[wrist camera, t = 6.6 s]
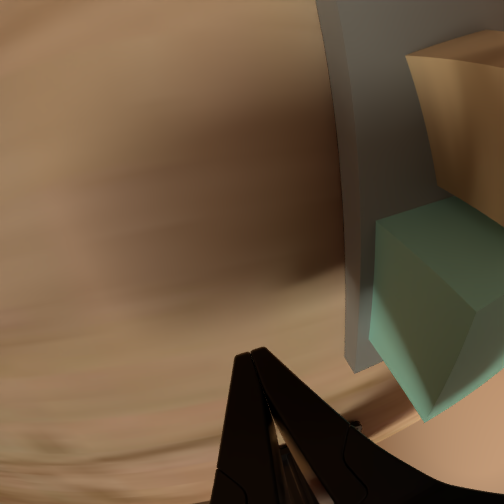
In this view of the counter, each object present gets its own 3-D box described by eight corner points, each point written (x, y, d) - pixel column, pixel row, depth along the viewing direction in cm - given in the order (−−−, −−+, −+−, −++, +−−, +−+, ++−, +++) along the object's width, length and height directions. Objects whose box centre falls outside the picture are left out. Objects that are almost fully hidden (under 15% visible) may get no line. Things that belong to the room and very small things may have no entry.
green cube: (463, 293, 12) (520, 353, 8) (368, 339, 11) (424, 422, 8) (484, 186, 9) (571, 241, 6) (375, 220, 8) (476, 311, 5)
